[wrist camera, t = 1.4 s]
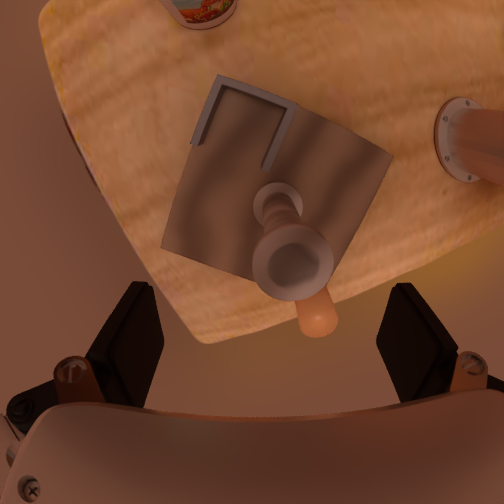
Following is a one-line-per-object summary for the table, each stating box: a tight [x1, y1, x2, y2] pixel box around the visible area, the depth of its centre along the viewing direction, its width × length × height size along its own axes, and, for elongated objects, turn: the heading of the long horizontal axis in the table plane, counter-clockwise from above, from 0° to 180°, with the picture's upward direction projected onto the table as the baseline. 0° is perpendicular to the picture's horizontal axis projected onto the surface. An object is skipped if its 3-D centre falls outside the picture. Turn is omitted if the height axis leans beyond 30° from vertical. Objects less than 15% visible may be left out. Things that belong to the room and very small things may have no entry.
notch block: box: [190, 74, 298, 173], centre depth 27 cm, size 8×8×4 cm
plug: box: [295, 285, 338, 337], centre depth 32 cm, size 4×4×10 cm
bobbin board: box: [161, 88, 394, 301], centre depth 27 cm, size 22×22×17 cm
